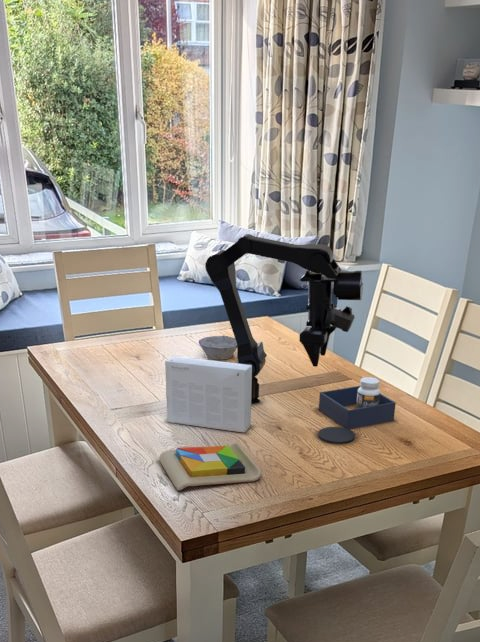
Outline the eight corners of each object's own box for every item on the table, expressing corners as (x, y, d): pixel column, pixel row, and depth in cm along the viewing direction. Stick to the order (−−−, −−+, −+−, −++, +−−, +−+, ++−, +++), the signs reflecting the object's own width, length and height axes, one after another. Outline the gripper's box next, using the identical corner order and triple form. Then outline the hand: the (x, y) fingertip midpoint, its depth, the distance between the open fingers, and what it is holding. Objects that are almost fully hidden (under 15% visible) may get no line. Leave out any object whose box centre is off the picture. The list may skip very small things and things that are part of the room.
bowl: (197, 350, 241) (197, 335, 239) (237, 349, 242) (237, 334, 240) (200, 363, 230) (199, 347, 227) (241, 362, 231) (241, 346, 229)
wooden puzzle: (263, 480, 162) (263, 466, 160) (178, 494, 156) (178, 479, 154) (236, 448, 176) (236, 434, 174) (157, 459, 170) (157, 445, 169)
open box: (346, 429, 186) (348, 410, 184) (318, 410, 197) (319, 392, 195) (393, 420, 191) (395, 402, 189) (363, 402, 202) (365, 384, 200)
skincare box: (252, 425, 188) (253, 364, 180) (245, 433, 183) (245, 371, 176) (174, 414, 194) (172, 354, 186) (166, 422, 189) (163, 361, 181)
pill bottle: (363, 422, 190) (367, 385, 185) (350, 415, 195) (354, 378, 190) (381, 418, 192) (386, 382, 188) (368, 411, 197) (372, 375, 192)
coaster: (329, 446, 177) (330, 444, 177) (311, 432, 184) (311, 430, 184) (362, 440, 181) (362, 438, 180) (342, 426, 188) (342, 424, 187)
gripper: (345, 309, 175) (343, 374, 182) (358, 291, 190) (356, 351, 198) (298, 308, 178) (299, 371, 185) (315, 290, 193) (315, 349, 201)
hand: (319, 360), depth 192 cm, fingers open, 9 cm apart
